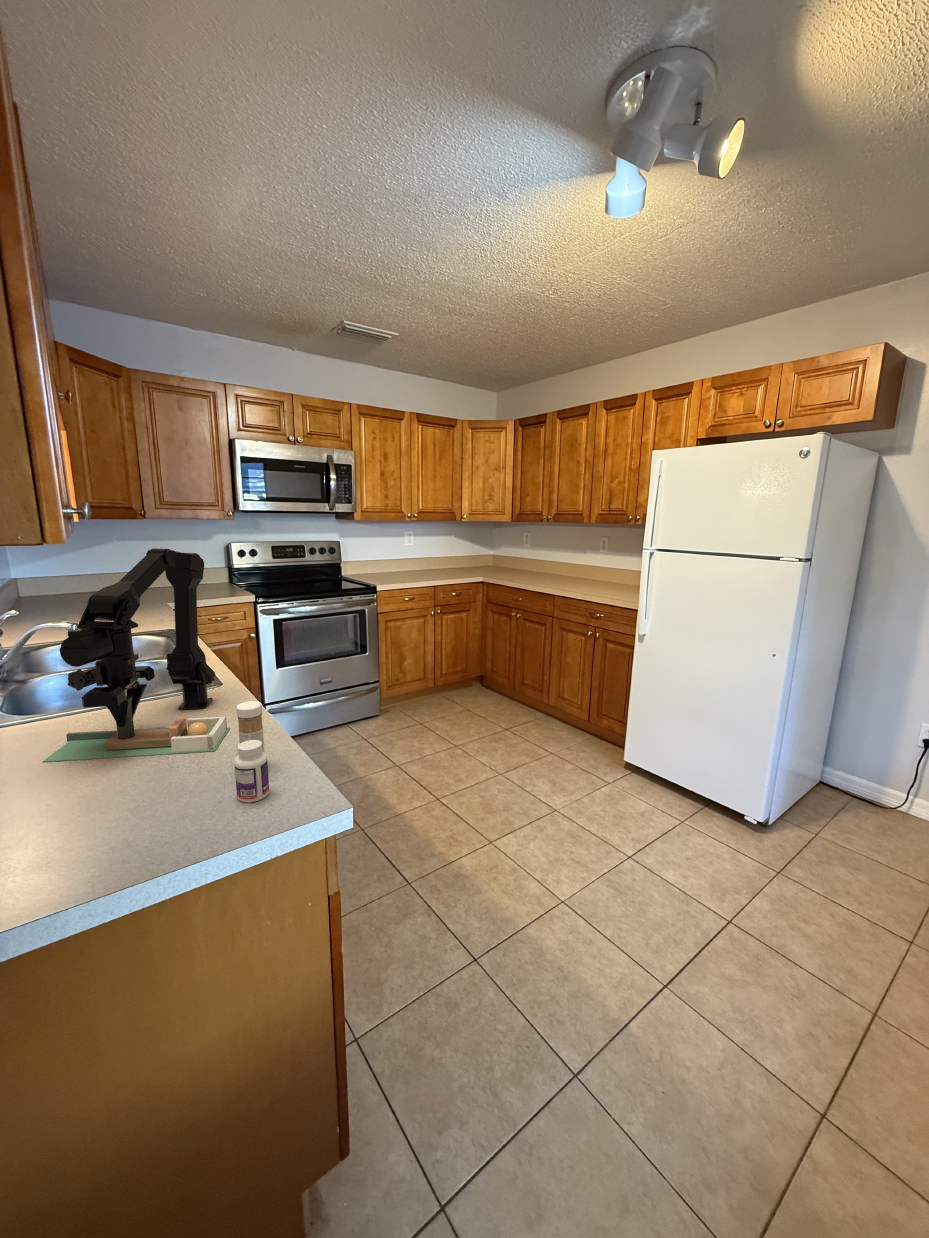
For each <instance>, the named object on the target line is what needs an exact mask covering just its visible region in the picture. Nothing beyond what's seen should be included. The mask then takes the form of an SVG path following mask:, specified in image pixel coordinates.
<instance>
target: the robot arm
mask: <svg viewBox="0 0 929 1238" xmlns="http://www.w3.org/2000/svg"><path fill="white" fill-rule="evenodd" d="M204 570H205V561H204V559H203V558H202V557H201V555H200V554H199V553H196V552H180V551H176V550H172V549H170V548H156V547H155V548H151V549H149V550H147V551H146V554H145V556H144V557H143V558H141V559H140V561H139V562H137V563H136V564H135V566H133V567H132V568H131V569H130V570H129V571H128V572H127V573H126V574H125V575H124V576H123V577H122V578H121V579H120V580H119V581H117V582H116V583H113V584H111V585H108V586H105V587H102V588H100V589H99V590H97V591H96V592H94V593H93V594H91V596H89V598H88V600H87V604H86V606H85V609H84V611H83V613H82V615H81V618H80V620H79V623H78V624H77V629H70V630H68V631H67V637H66V638H65V639H64V640H62V642H61V644H60V647H59V654H60V655H59V656H60V657H61V659H62V660H63V662H65V663H66V665H68V666H70V667H75V668H78V667H82V666H84V665H88V664H90V663H93V662H95V663H94V664H95V665H94V666H91V667H89V668H86V669H83V670H82V669H80V668H79V669H76V670H73V671H70V672H69V673H68V674H67V686H68V687H70V688H72V689H75V690H76V691H77V692H79V691H81V690H83V689H84V688H86V687H90V686H93V685H96V686H95V687H94V688H92V689H90V690H88V691H87V692H86V693H84V695H83V696H81V697H80V698H81V705H82V708H84V709H85V708H100V707H105V708H107V709H108V711H109V713H110V715H112V717H113V719H114V721H115V724H116V723H117V724H118V726H119V727H124V726H125V725H126V721H127V718H128V714H129V710H130V706H132V715H133V718H134V717H135V713H136V711H137V709H138V706H139V704H140V702H141V700H142V696H143V695H144V692H145V690H146V688H147V687H148V685H147V684H146V683H145V684H144V683H143V684H142V683H141V682H140V681H138V680H139V679H145V681H147V682H149V681H152V680H153V679H155V677H156V676H155V669H154V668H152V666H150V665H138V666H137V665H136V661H137V660H139V653H135V651H134V644H133V636H132V635H133V633H132V629H136V628H138V627H139V623H137V622H135V621H134V620H132V618H133V617H134V615H135V614H136V612H137V611H138V609H139V608H140V606H141V603H140V601H141V600H140V599H141V597H142V596H143V594H144V593H145V592H146V591H147V590H148V589H149V588H150V587H151V586H152V585H153V584H154V583H155V582H156V581H157V580H158V579H159V578H160V577H161V575H162V574H163V573H165V578H166V580H167V581H168V582H169V584H170V585H171V586H172V588H173V606H174V609H173V610H174V632H175V633H174V634H175V635H174V636H175V638H174V640H175V647H173V650H172V651H171V653H170V652H169V653H167V655H166V657H165V658H166V670H167V673H168V676H169V677H170V680H171V682H172V684H173V685H181V692H182V693H181V694H182V703H181V704H180V705H179V706H178V710H191V709H195V710H196V709H206V708H207V707H208V706H209V705H210V703H211V702H212V701H213V697H209V696H208V686H207V685H210V684H213V681H215V677H216V672H215V670H213V668H211V667H210V666H209V665H208V664H207V657H206V654H205V652H204V651H203V650H202V648H201V647H200V645H199V637H198V636H199V635H198V631H199V628H198V627H199V626H198V599H197V597H198V596H197V593H198V592H197V589H198V587H199V585H200V584H201V582H202V580H204Z"/></svg>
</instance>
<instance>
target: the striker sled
mask: <svg viewBox="0 0 929 1238" xmlns="http://www.w3.org/2000/svg"><path fill="white" fill-rule="evenodd" d="M115 724H116V730H117V732H116V733H115V734H114V735H113V736H112V737H111V738H109V739H108V740H107V741H106V742H105V743H104V748H105V750H113V749H130V748H146V747H162V746H171V738H172V737H178V736H186V735H187V730H188V723H187V717H186V716H185V717H184V716H182V717H181V716H180V717H178V718H177V719H176V720H175V721H174V722H173V723H172V724H171V725H170V726H169V728H168V727H167V728H168V729H153V730H134V729H135V723H134V717H133V715H132V706H130V710H129V714H128V718H127V721H126V725H125V726H124V727H119V726H118V724H117V723H116V722H115Z"/></svg>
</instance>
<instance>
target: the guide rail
mask: <svg viewBox="0 0 929 1238" xmlns="http://www.w3.org/2000/svg"><path fill="white" fill-rule="evenodd" d="M169 727H170V726H169ZM169 727H155V728H153V727H152V728H151V727H150V728H136V729H135V728H134V730H153V729H168V728H169ZM116 732H117V729H116V730H115V729H113V730H97V731H96V730H95V731H82V732H81V731H80V732H67V733H66V734H65V735H66V736H65V737H66V741H67V742H69V741H74V740H92V739H109V738H111V737H112V736H113V735H114V734H115V733H116Z"/></svg>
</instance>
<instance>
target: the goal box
mask: <svg viewBox="0 0 929 1238" xmlns="http://www.w3.org/2000/svg"><path fill="white" fill-rule="evenodd" d="M196 722H201V723H204V724H205V725H206V726H207V729H208V731H211V732H210V733H209V735H196V736H178V737H172V738H171V747H172V752H184V751H200V750H213V749H214V748H215V746H216V745H217V743H218V742H219V740H220V739H221V737H222V736H223V734H224V732H225V731H226V729H227V728H228V725H227V724H228V723H227V722H228V721H227V716H209V717H189V718H187V719H186V723H187V729H188V728H189V726H190V725H191V724H193V723H196Z"/></svg>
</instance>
